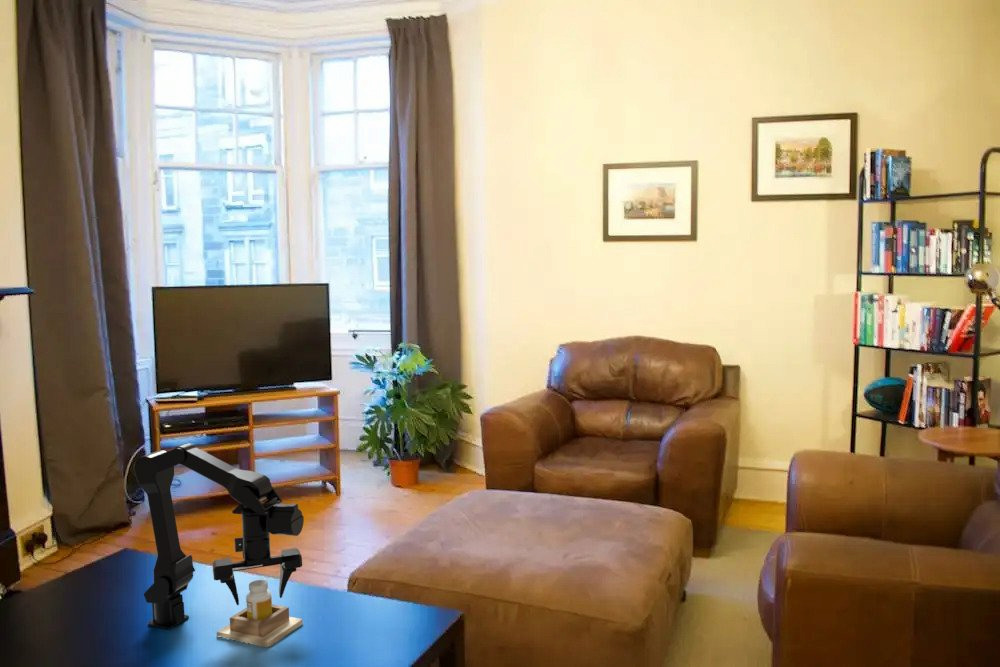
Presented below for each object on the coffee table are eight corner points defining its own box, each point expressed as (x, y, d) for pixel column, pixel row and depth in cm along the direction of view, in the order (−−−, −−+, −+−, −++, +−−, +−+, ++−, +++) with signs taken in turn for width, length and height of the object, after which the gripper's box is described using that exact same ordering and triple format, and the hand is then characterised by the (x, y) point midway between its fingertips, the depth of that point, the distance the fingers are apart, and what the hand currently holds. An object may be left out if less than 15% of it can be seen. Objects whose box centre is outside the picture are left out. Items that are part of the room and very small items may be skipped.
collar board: (216, 637, 177) (215, 618, 177) (253, 614, 188) (252, 597, 188) (268, 647, 172) (267, 628, 171) (302, 624, 183) (301, 606, 182)
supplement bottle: (276, 620, 182) (274, 578, 182) (267, 631, 177) (265, 588, 176) (253, 619, 183) (251, 578, 182) (243, 630, 178) (241, 587, 177)
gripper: (294, 516, 189) (296, 580, 190) (209, 527, 182) (213, 594, 183) (301, 530, 179) (304, 598, 180) (212, 543, 172) (215, 614, 173)
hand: (259, 600), depth 179 cm, fingers open, 9 cm apart
